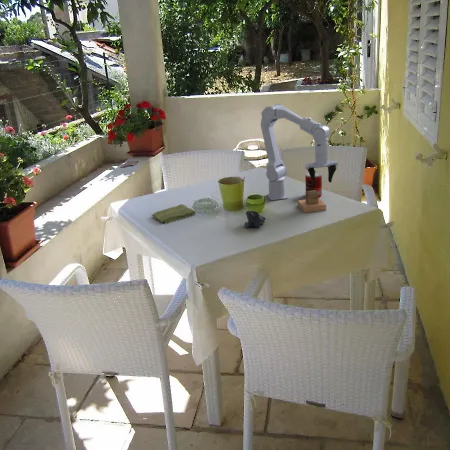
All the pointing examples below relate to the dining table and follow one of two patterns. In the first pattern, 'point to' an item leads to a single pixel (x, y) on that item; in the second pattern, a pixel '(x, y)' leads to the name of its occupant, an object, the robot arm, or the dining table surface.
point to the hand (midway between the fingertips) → (321, 182)
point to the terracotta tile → (311, 206)
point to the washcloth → (173, 213)
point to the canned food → (317, 185)
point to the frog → (254, 219)
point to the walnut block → (311, 197)
